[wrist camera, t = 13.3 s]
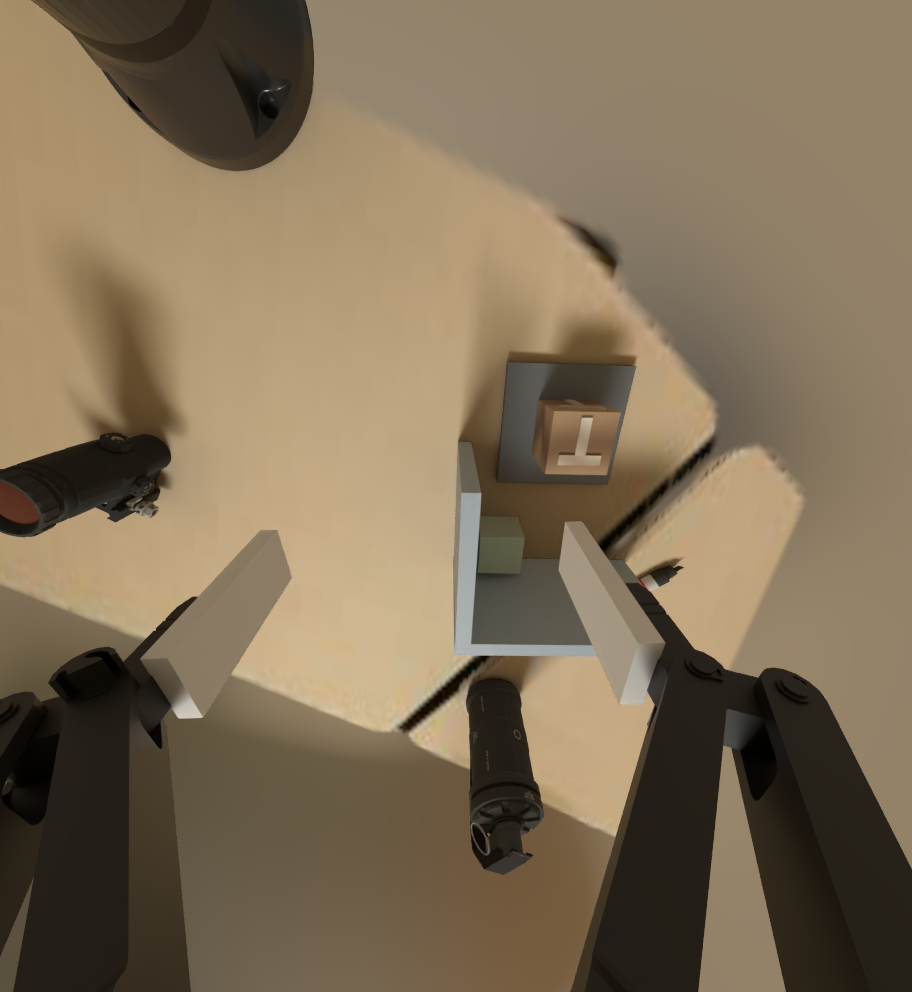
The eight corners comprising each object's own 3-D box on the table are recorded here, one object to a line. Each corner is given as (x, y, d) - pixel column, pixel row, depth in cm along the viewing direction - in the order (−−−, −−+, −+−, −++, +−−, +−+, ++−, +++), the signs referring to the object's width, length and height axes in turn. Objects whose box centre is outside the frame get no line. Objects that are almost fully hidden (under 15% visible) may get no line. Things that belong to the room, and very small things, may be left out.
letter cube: (538, 397, 35) (555, 409, 30) (595, 399, 35) (622, 410, 30) (531, 454, 38) (545, 474, 32) (584, 455, 38) (607, 475, 32)
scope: (-69, 536, 26) (-60, 434, 23) (99, 472, 39) (120, 400, 36) (48, 584, 28) (72, 497, 25) (171, 509, 41) (198, 444, 38)
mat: (507, 361, 34) (508, 362, 34) (632, 365, 35) (636, 366, 34) (496, 479, 40) (497, 481, 39) (604, 481, 40) (607, 484, 39)
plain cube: (477, 515, 42) (480, 536, 38) (517, 516, 42) (525, 537, 38) (475, 548, 44) (477, 572, 40) (512, 549, 44) (519, 573, 40)
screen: (457, 441, 38) (460, 492, 25) (656, 446, 38) (757, 499, 26) (453, 566, 45) (454, 655, 32) (620, 569, 46) (685, 657, 33)
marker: (581, 618, 50) (586, 628, 48) (575, 610, 49) (580, 620, 47) (680, 565, 46) (689, 575, 44) (674, 556, 45) (683, 565, 44)
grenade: (531, 688, 56) (569, 856, 38) (490, 722, 60) (508, 889, 42) (487, 667, 54) (506, 834, 35) (448, 704, 57) (447, 872, 39)
